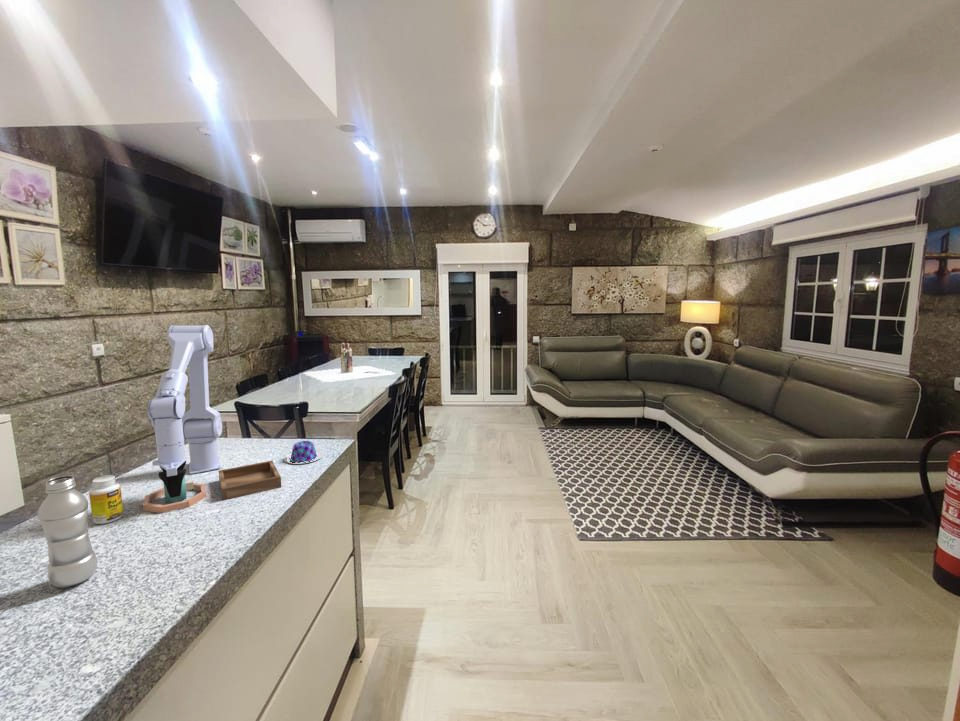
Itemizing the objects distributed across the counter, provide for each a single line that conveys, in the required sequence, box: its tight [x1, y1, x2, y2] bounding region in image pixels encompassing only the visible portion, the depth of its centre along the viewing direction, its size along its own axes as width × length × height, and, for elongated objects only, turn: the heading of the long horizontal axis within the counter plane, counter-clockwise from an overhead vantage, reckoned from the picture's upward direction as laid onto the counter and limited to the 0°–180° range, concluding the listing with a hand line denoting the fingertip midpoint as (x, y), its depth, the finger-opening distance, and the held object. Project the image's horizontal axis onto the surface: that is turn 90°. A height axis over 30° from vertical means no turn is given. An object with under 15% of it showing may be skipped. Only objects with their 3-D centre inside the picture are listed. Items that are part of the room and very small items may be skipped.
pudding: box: [283, 440, 324, 465], centre depth 138 cm, size 12×12×5 cm
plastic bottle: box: [37, 474, 98, 589], centre depth 77 cm, size 6×7×20 cm
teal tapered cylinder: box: [162, 474, 194, 505], centre depth 110 cm, size 4×6×6 cm
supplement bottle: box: [88, 474, 124, 525], centre depth 99 cm, size 6×6×10 cm
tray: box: [218, 460, 282, 501], centre depth 119 cm, size 14×14×3 cm
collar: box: [142, 482, 207, 514], centre depth 110 cm, size 13×13×2 cm
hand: (175, 492), depth 109 cm, fingers closed on teal tapered cylinder, 4 cm apart
